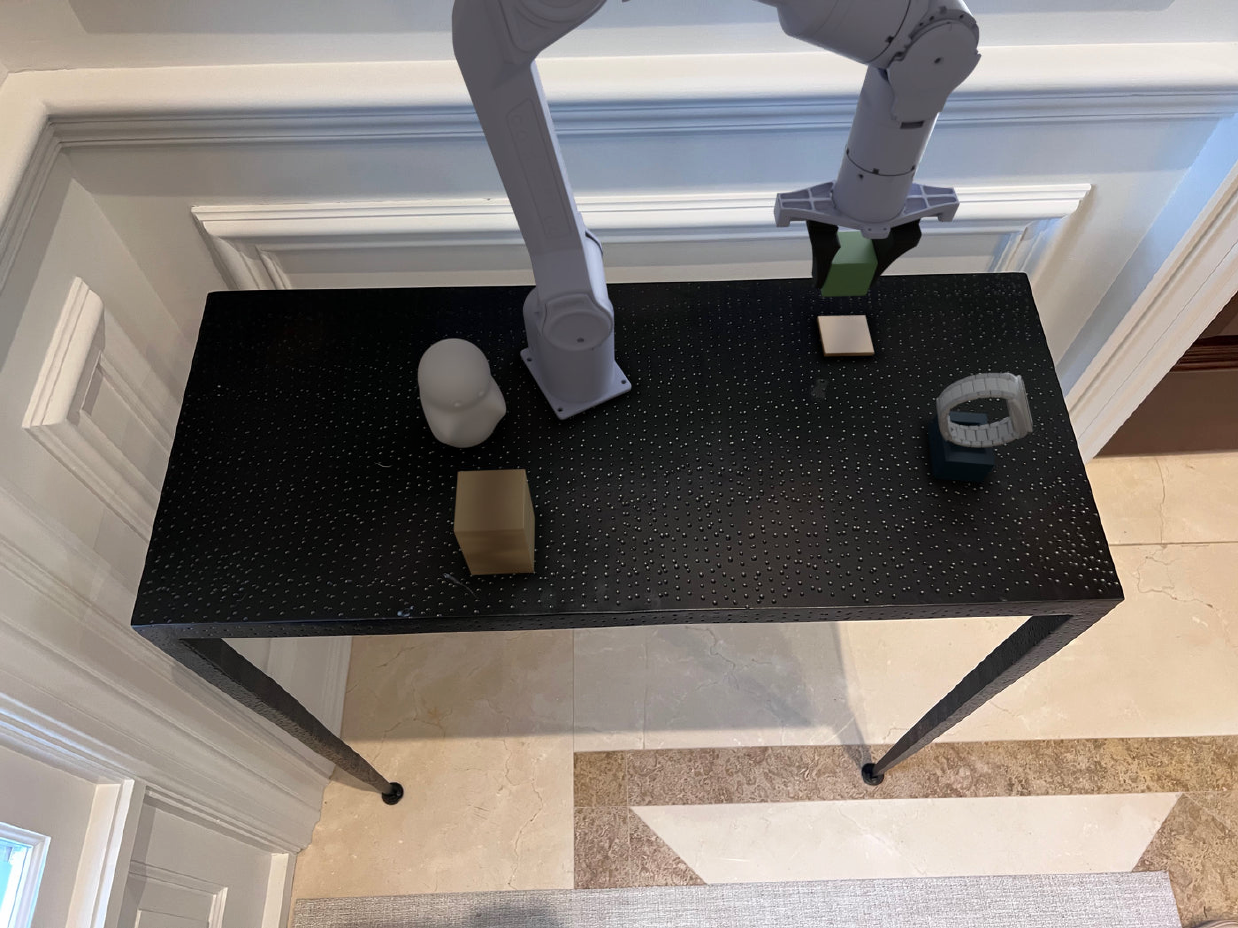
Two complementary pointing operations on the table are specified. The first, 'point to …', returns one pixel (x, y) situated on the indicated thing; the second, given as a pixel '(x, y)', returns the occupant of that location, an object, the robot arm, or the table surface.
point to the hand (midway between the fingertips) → (841, 279)
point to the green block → (851, 266)
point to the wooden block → (495, 521)
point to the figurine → (459, 393)
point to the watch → (975, 426)
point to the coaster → (845, 335)
